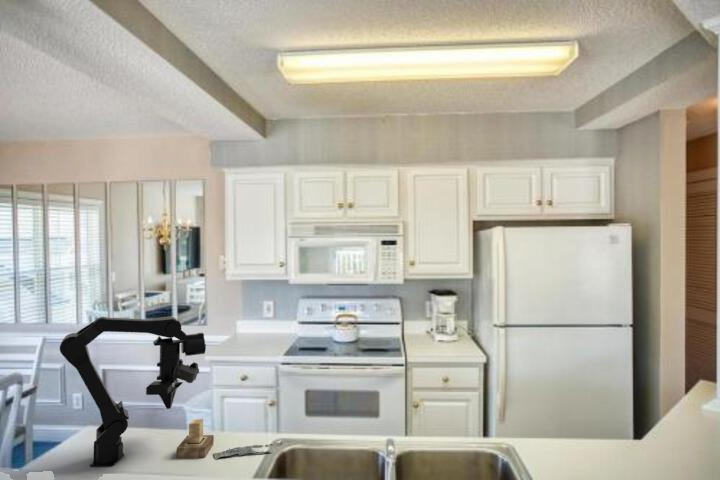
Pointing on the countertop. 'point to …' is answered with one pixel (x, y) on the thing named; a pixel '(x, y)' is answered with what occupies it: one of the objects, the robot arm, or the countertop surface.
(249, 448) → the driftwood
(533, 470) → the countertop surface
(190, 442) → the peg
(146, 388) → the robot arm
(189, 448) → the board
